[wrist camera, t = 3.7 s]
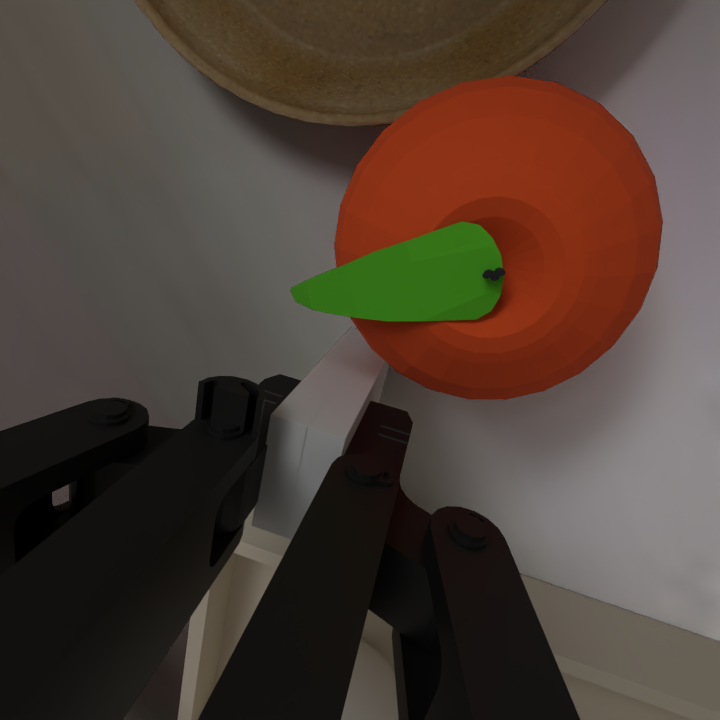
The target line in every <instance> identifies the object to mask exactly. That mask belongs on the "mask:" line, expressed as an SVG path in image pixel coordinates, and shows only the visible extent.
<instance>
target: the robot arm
mask: <svg viewBox="0 0 720 720" xmlns="http://www.w3.org/2000/svg"><path fill="white" fill-rule="evenodd" d="M388 368H389V364H388V363H387V362H386V361H385V360H384V359H382V358H381V357H380V356H379V355H378V354H377V353H376V352H375V351H374V350H372V349H371V347H370V346H369V345H368V343H367V342H366V340H365V339H364V337H363V336H362V334H361V333H360V331H359V330H358V329H356V328H352V327H351V328H350V329H349V330H348V331H347V332H346V333H345V334H344V335H343V337H342V338H341V339H340V340H339V341H338V342H337V343H336V344H335V345H334V346H333V347H332V349H331V350H330V351H329V352H328V353H327V354H326V355H325V356H324V357H323V358H322V359H321V361H320V362H319V363H318V364H317V365H316V366H315V367H314V368H313V369H312V370H311V371H310V372H309V374H308V375H307V376H306V377H305V378H304V379H303V380H302V381H300V380H297V379H294V378H291V377H287V376H284V375H281V374H279V375H276V376H273V377H270V378H266V379H264V380H263V381H262V382H261V383H260V384H259V385H258V384H256V383H254V382H251V381H249V380H247V379H243V378H238V377H233V376H216V377H209V378H206V379H204V380H202V381H199V385H198V394H197V404H196V413H195V419H194V420H193V421H192V422H190V423H189V424H188V425H187V426H185V427H184V428H183V429H172V428H164V427H156V426H148V424H149V415H148V411H147V409H146V408H145V407H143V406H142V405H141V404H139V403H136V402H133V401H131V400H127V399H120V398H106V399H97V400H93V401H88V402H85V403H82V404H79V405H76V406H73V407H70V408H67V409H64V410H61V411H58V412H55V413H52V414H49V415H47V416H44V417H41V418H38V419H35V420H32V421H29V422H26V423H23V424H20V425H17V426H14V427H11V428H8V429H5V430H2V431H0V720H123V719H124V717H125V716H126V714H127V713H128V711H129V709H130V708H131V706H132V705H133V703H134V702H135V700H136V699H137V697H138V696H139V694H140V693H141V691H142V690H143V688H144V687H145V685H146V684H147V682H148V681H149V679H150V678H151V676H152V675H153V673H154V672H155V670H156V669H157V667H158V666H159V664H160V663H161V661H162V660H163V658H164V657H165V655H166V654H167V652H168V651H169V649H170V647H171V646H172V644H173V643H174V641H175V640H176V638H177V637H178V635H179V634H180V632H181V631H182V629H183V628H184V626H185V625H186V623H187V622H188V620H189V619H190V617H191V616H192V614H193V613H194V611H195V610H196V608H197V607H198V605H199V604H200V602H201V601H202V599H203V598H204V596H205V595H206V593H207V592H208V590H209V589H210V587H211V585H212V584H213V582H214V581H215V579H216V578H217V576H218V575H219V573H220V572H221V570H222V569H223V567H224V566H225V564H226V563H227V561H228V560H229V558H230V557H231V555H232V554H233V552H234V551H235V549H236V548H237V546H238V545H239V543H240V540H241V538H242V535H243V529H244V524H245V520H246V518H247V517H248V515H249V514H250V513H251V511H252V510H253V508H254V507H255V508H254V514H253V519H252V525H251V526H254V527H256V528H259V529H262V530H265V531H268V532H271V533H273V534H276V535H279V536H282V537H285V538H288V539H290V540H291V542H290V544H289V546H288V548H287V550H286V552H285V554H284V556H283V558H282V559H281V561H280V563H279V565H278V567H277V569H276V571H275V573H274V575H273V577H272V579H271V580H270V582H269V584H268V586H267V588H266V590H265V592H264V594H263V596H262V598H261V600H260V601H259V603H258V605H257V607H256V609H255V611H254V613H253V615H252V617H251V619H250V621H249V623H248V624H247V626H246V628H245V630H244V632H243V634H242V636H241V638H240V640H239V642H238V644H237V645H236V647H235V649H234V651H233V653H232V655H231V657H230V659H229V661H228V663H227V665H226V666H225V668H224V670H223V672H222V674H221V676H220V678H219V680H218V682H217V684H216V686H215V687H214V689H213V691H212V693H211V695H210V697H209V699H208V701H207V703H206V705H205V707H204V709H203V710H202V712H201V714H200V716H199V718H198V720H341V717H342V713H343V709H344V705H345V701H346V697H347V693H348V689H349V685H350V681H351V677H352V673H353V669H354V665H355V661H356V657H357V653H358V649H359V645H360V641H361V637H362V633H363V628H364V624H365V620H366V616H367V612H368V609H369V610H370V611H371V612H373V613H374V614H375V615H377V616H378V617H380V618H381V619H382V620H384V621H385V622H386V623H388V624H389V625H391V626H392V627H393V629H392V646H393V658H394V670H395V682H396V694H397V706H398V718H399V720H580V717H579V715H578V713H577V710H576V708H575V705H574V703H573V701H572V698H571V696H570V693H569V691H568V689H567V686H566V684H565V681H564V679H563V677H562V674H561V672H560V669H559V667H558V665H557V662H556V660H555V657H554V655H553V653H552V650H551V648H550V645H549V643H548V641H547V638H546V636H545V633H544V631H543V629H542V626H541V624H540V621H539V619H538V617H537V614H536V612H535V609H534V607H533V605H532V602H531V600H530V597H529V595H528V593H527V590H526V588H525V585H524V583H523V581H522V578H521V576H520V573H519V571H518V568H517V566H516V564H515V561H514V559H513V556H512V554H511V552H510V549H509V547H508V544H507V542H506V540H505V538H504V537H503V535H502V533H501V532H500V530H499V529H498V528H497V527H496V526H495V525H494V524H493V523H492V522H491V521H489V520H488V519H487V518H485V517H484V516H482V515H480V514H478V513H476V512H475V511H472V510H469V509H465V508H462V507H450V506H447V507H444V508H441V509H438V510H436V511H435V513H434V514H433V515H431V514H429V513H428V512H426V511H424V510H423V509H421V508H420V507H418V506H417V505H415V504H414V503H413V502H412V501H411V500H410V499H409V498H408V497H407V496H406V495H405V494H404V492H403V491H402V489H401V486H400V483H399V479H400V473H401V469H402V465H403V461H404V457H405V453H406V449H407V445H408V441H409V437H410V432H411V428H412V424H413V422H412V420H411V418H410V416H409V414H408V412H406V411H403V410H400V409H396V408H393V407H390V406H387V405H383V404H380V403H379V401H380V397H381V394H382V390H383V386H384V383H385V379H386V375H387V372H388ZM68 484H69V501H67V502H65V503H63V504H60V505H57V506H53V504H52V492H53V491H55V490H58V489H60V488H62V487H64V486H66V485H68Z"/></svg>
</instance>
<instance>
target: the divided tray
mask: <svg viewBox="0 0 720 720" xmlns="http://www.w3.org/2000/svg"><path fill="white" fill-rule="evenodd" d="M254 508H255V507H254ZM254 508H253V510H252V511H251V513H250V514H249V515H248V517H247V518H246V520H245V524H244V529H243V535H242V538H241V540H240V543H239V545H238V546H237V548H236V549H235V551H234V552H233V554H232V555H231V557H230V558H229V560H228V561H227V563H226V564H225V566H224V567H223V569H222V570H221V572H220V573H219V575H218V576H217V578H216V579H215V581H214V582H213V584H212V585H211V587H210V589H209V590H208V592H207V593H206V595H205V596H204V598H203V599H202V601H201V602H200V604H199V605H198V607H197V608H196V610H195V611H194V613H193V614H192V616H191V617H190V624H189V632H188V640H187V648H186V656H185V664H184V672H183V680H182V688H181V696H180V704H179V712H178V720H198V718H199V716H200V714H201V712H202V710H203V709H204V707H205V705H206V703H207V701H208V699H209V697H210V695H211V693H212V691H213V689H214V687H215V686H216V684H217V682H218V680H219V678H220V676H221V674H222V672H223V670H224V668H225V666H226V665H227V663H228V661H229V659H230V657H231V655H232V653H233V651H234V649H235V647H236V645H237V644H238V642H239V640H240V638H241V636H242V634H243V632H244V630H245V628H246V626H247V624H248V623H249V621H250V619H251V617H252V615H253V613H254V611H255V609H256V607H257V605H258V603H259V601H260V600H261V598H262V596H263V594H264V592H265V590H266V588H267V586H268V584H269V582H270V580H271V579H272V577H273V575H274V573H275V571H276V569H277V567H278V565H279V563H280V561H281V559H282V558H283V556H284V554H285V552H286V550H287V548H288V546H289V544H290V542H291V540H290V539H288V538H285V537H282V536H279V535H276V534H273V533H271V532H268V531H265V530H262V529H259V528H256V527H254V526H251V525H252V519H253V514H254ZM520 576H521V578H522V581H523V583H524V585H525V588H526V590H527V593H528V595H529V597H530V600H531V602H532V605H533V607H534V609H535V612H536V614H537V617H538V619H539V621H540V624H541V626H542V629H543V631H544V633H545V636H546V638H547V641H548V643H549V645H550V648H551V650H552V653H553V655H554V657H555V660H556V662H557V665H558V667H559V669H560V672H561V674H562V677H563V679H564V681H565V684H566V686H567V689H568V691H569V693H570V696H571V698H572V701H573V703H574V705H575V708H576V710H577V713H578V715H579V717H580V720H720V642H718V641H715V640H712V639H709V638H706V637H703V636H700V635H697V634H694V633H692V632H689V631H686V630H683V629H680V628H677V627H674V626H671V625H668V624H665V623H662V622H659V621H656V620H653V619H650V618H648V617H645V616H642V615H639V614H636V613H633V612H630V611H627V610H624V609H621V608H618V607H615V606H612V605H609V604H606V603H604V602H601V601H598V600H595V599H592V598H589V597H586V596H583V595H580V594H577V593H574V592H571V591H568V590H565V589H562V588H560V587H557V586H554V585H551V584H548V583H545V582H542V581H539V580H536V579H533V578H530V577H527V576H524V575H521V574H520ZM392 629H393V627H392V626H391V625H389V624H388V623H386V622H385V621H384V620H382V619H381V618H380V617H378V616H377V615H375V614H374V613H373V612H371V611H370V610H369V609H368V612H367V616H366V620H365V624H364V628H363V633H362V637H361V640H363V641H365V642H366V643H368V644H369V645H371V646H372V647H374V648H375V649H376V650H377V651H378V652H379V653H380V654H381V655H382V656H383V657H384V658H385V659H386V661H387V662H388V663H389V664H390V666H391V667H392V668H393V670H394V658H393V646H392ZM394 672H395V670H394Z"/></svg>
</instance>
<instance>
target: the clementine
mask: <svg viewBox="0 0 720 720" xmlns="http://www.w3.org/2000/svg"><path fill="white" fill-rule="evenodd" d="M662 224H663V221H662V215H661V210H660V204H659V198H658V193H657V187H656V182H655V176H654V174H653V173H652V171H651V169H650V167H649V165H648V163H647V161H646V159H645V157H644V155H643V154H642V152H641V150H640V148H639V146H638V144H637V142H636V140H635V138H634V137H633V135H632V134H631V133H630V132H629V131H628V130H627V129H626V128H625V127H624V126H623V125H622V124H621V123H619V122H618V121H617V120H616V119H615V118H614V117H613V116H612V115H611V114H610V113H609V112H608V111H607V110H606V109H605V108H604V107H603V106H602V105H601V104H600V103H598V102H596V101H594V100H592V99H590V98H588V97H586V96H584V95H582V94H580V93H578V92H576V91H573V90H571V89H569V88H567V87H565V86H563V85H561V84H559V83H557V82H550V81H544V80H537V79H530V78H523V77H517V76H503V77H496V78H489V79H482V80H475V81H468V82H462V83H460V84H458V85H455V86H453V87H451V88H449V89H446V90H444V91H442V92H439V93H437V94H435V95H433V96H430V97H428V98H426V99H424V100H421V101H419V102H418V103H417V104H415V105H414V106H413V107H412V108H410V109H409V110H408V111H407V112H405V113H404V114H403V115H402V116H400V117H399V118H398V119H397V120H395V121H394V122H393V123H392V124H390V125H389V126H388V127H387V128H386V129H384V130H383V131H382V133H381V134H380V135H379V137H378V138H377V139H376V141H375V142H374V143H373V145H372V146H371V147H370V149H369V150H368V151H367V153H366V154H365V155H364V157H363V158H362V159H361V161H360V162H359V163H358V165H357V166H356V169H355V171H354V174H353V176H352V178H351V181H350V183H349V186H348V188H347V190H346V193H345V195H344V197H343V200H342V202H341V205H340V211H339V218H338V224H337V231H336V237H335V244H334V246H335V256H336V267H337V268H335V269H332V270H330V271H327V272H325V273H322V274H320V275H318V276H315V277H313V278H311V279H308V280H306V281H304V282H302V283H300V284H298V285H296V286H294V287H292V288H291V290H290V291H291V293H292V295H293V298H294V300H295V301H296V302H298V303H300V304H302V305H304V306H306V307H308V308H310V309H312V310H316V311H321V312H325V313H330V314H335V315H342V316H348V317H350V318H351V319H352V321H353V322H354V324H355V325H356V327H357V328H358V330H359V331H360V333H361V334H362V336H363V337H364V339H365V340H366V342H367V343H368V345H369V346H370V347H371V349H372V350H374V351H375V352H376V353H377V354H378V355H379V356H380V357H381V358H382V359H384V360H385V361H386V362H387V363H388V364H389V365H390V366H391V367H393V368H394V369H395V370H396V371H397V372H398V373H400V374H402V375H404V376H406V377H408V378H410V379H411V380H413V381H415V382H417V383H419V384H421V385H423V386H425V387H427V388H429V389H431V390H434V391H438V392H442V393H446V394H450V395H454V396H458V397H462V398H466V399H510V398H514V397H519V396H523V395H528V394H532V393H536V392H541V391H544V390H546V389H548V388H551V387H553V386H555V385H557V384H559V383H561V382H563V381H565V380H567V379H569V378H571V377H573V376H575V375H577V374H579V373H581V372H582V371H583V370H584V369H586V368H587V367H588V366H589V365H590V364H592V363H593V362H594V361H595V360H597V359H598V358H599V357H600V356H601V355H603V354H604V353H605V352H606V351H607V350H609V349H610V348H611V347H612V346H613V345H614V344H615V343H616V341H617V340H618V339H619V337H620V336H621V335H622V333H623V332H624V331H625V329H626V328H627V327H628V325H629V324H630V323H631V321H632V320H633V319H634V317H635V316H636V315H637V313H638V312H639V311H640V309H641V307H642V304H643V302H644V299H645V297H646V294H647V292H648V289H649V287H650V285H651V282H652V280H653V277H654V275H655V272H656V270H657V267H658V259H659V250H660V241H661V232H662Z"/></svg>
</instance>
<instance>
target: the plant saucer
mask: <svg viewBox="0 0 720 720" xmlns="http://www.w3.org/2000/svg"><path fill="white" fill-rule="evenodd" d="M134 1H135V3H136V4H137V5H138V7H139V8H140V9H141V10H142V12H143V13H144V14H145V15H146V16H147V17H148V18H149V19H150V21H151V22H152V24H153V25H154V27H155V28H156V29H157V30H158V31H159V32H160V33H161V35H162V36H163V37H164V38H165V39H166V40H167V41H168V42H169V43H170V45H171V46H172V47H173V48H174V49H175V50H176V51H177V52H178V53H179V54H180V55H181V56H182V57H183V58H184V59H186V60H187V61H188V62H189V63H190V64H191V65H192V66H193V67H195V68H196V69H197V70H199V71H200V72H201V73H203V74H204V75H206V76H207V77H208V78H210V79H211V80H213V81H214V82H215V83H217V84H218V85H219V86H220V87H222V88H225V89H227V90H229V91H230V92H232V93H233V94H235V95H236V96H238V97H240V98H241V99H243V100H245V101H247V102H249V103H252V104H254V105H256V106H258V107H261V108H263V109H266V110H269V111H271V112H273V113H275V114H280V115H283V116H286V117H289V118H294V119H298V120H302V121H306V122H311V123H322V124H329V125H336V126H374V125H384V124H392V123H393V122H394V121H395V120H397V119H398V118H399V117H400V116H402V115H403V114H404V113H405V112H407V111H408V110H409V109H410V108H412V107H413V106H414V105H415V104H417V103H418V102H419V101H421V100H424V99H426V98H428V97H430V96H433V95H435V94H437V93H439V92H442V91H444V90H446V89H449V88H451V87H453V86H455V85H458V84H460V83H462V82H468V81H475V80H482V79H489V78H496V77H503V76H517V75H519V74H521V73H522V72H524V71H525V70H527V69H528V68H529V67H531V66H532V65H534V64H535V63H537V62H538V61H540V60H541V59H543V58H544V57H546V56H547V55H548V54H550V53H551V52H552V51H554V50H555V49H556V48H557V47H559V46H560V45H561V44H562V43H563V42H565V41H566V40H567V39H568V38H569V37H570V36H571V35H572V34H573V33H575V32H576V31H577V30H578V29H579V28H580V27H581V26H582V25H583V24H584V23H585V22H586V21H587V20H589V19H590V18H591V17H592V16H593V15H594V14H595V13H596V12H597V11H598V9H599V8H600V7H601V6H602V5H603V4H604V3H606V2H607V1H608V0H134Z"/></svg>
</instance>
